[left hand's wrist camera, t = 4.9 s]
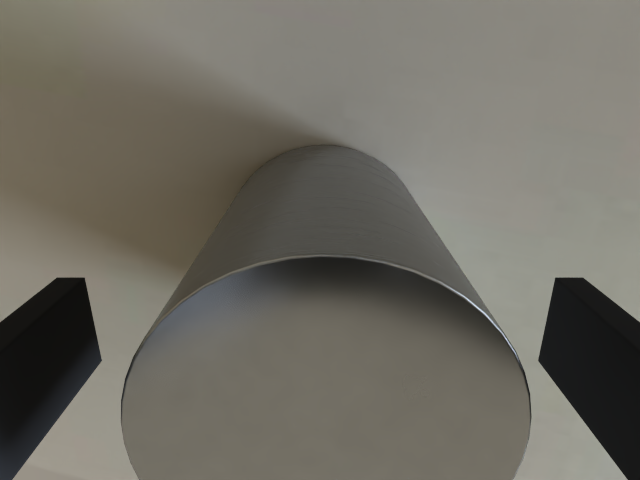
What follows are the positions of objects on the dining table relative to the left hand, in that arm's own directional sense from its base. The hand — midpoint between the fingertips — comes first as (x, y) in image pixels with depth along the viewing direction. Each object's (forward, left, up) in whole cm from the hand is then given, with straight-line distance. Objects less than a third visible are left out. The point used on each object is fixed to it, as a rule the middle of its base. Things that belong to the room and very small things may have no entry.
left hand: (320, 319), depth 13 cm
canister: (0, 0, -5) cm, 5 cm away
